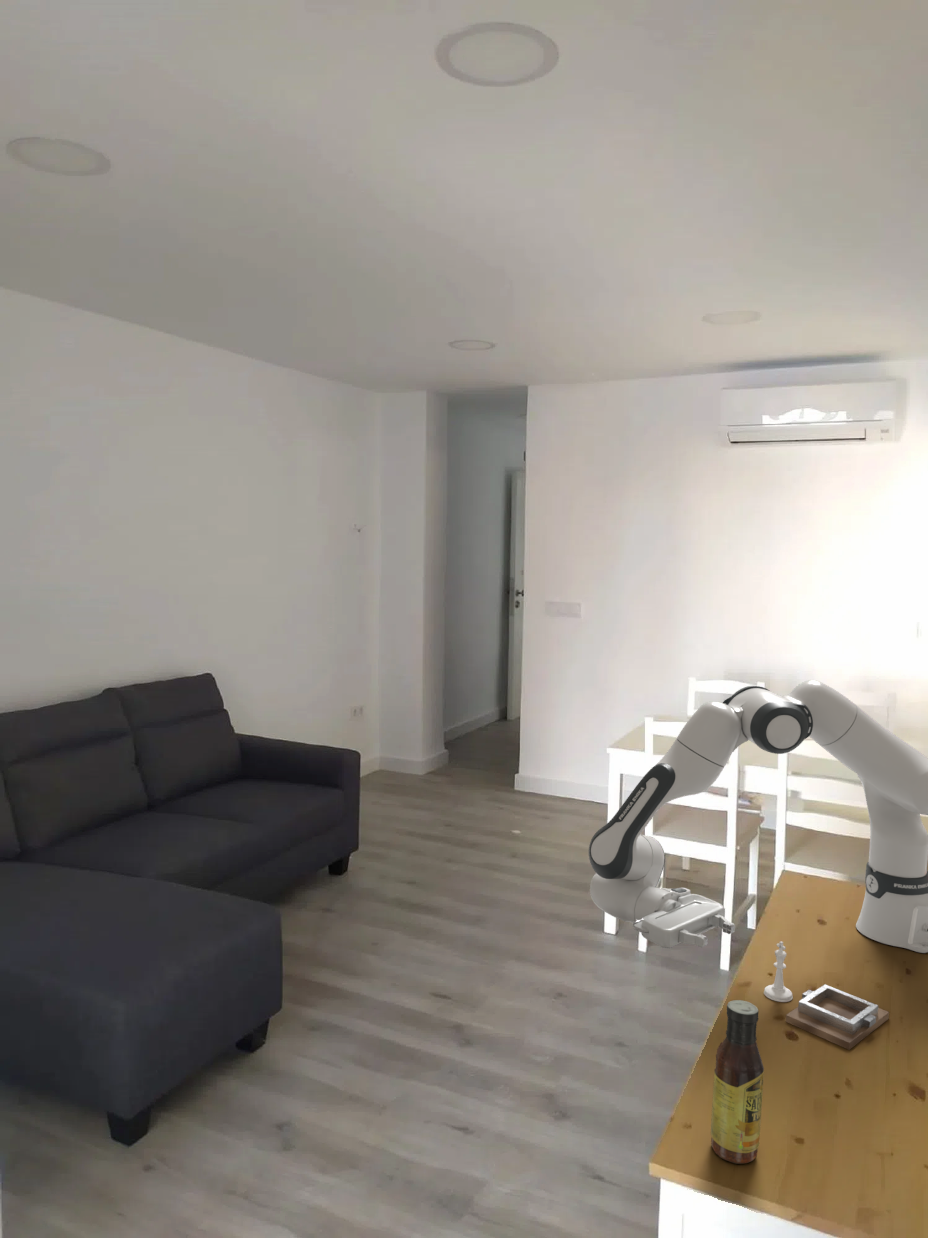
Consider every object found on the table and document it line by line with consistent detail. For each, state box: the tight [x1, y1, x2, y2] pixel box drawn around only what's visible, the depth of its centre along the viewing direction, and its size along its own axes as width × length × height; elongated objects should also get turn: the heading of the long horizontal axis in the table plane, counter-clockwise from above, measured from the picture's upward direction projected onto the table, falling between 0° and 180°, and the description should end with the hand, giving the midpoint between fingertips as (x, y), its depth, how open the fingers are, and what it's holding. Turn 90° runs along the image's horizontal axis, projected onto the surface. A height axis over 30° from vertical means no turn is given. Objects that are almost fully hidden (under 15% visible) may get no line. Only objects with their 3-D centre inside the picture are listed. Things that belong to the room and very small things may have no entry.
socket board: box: [785, 998, 890, 1050], centre depth 153 cm, size 11×15×1 cm
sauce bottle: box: [710, 999, 765, 1165], centre depth 119 cm, size 6×6×20 cm
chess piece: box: [763, 940, 793, 1003], centre depth 161 cm, size 5×5×10 cm
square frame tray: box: [797, 983, 879, 1035], centre depth 153 cm, size 12×10×2 cm
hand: (719, 936), depth 170 cm, fingers open, 8 cm apart
